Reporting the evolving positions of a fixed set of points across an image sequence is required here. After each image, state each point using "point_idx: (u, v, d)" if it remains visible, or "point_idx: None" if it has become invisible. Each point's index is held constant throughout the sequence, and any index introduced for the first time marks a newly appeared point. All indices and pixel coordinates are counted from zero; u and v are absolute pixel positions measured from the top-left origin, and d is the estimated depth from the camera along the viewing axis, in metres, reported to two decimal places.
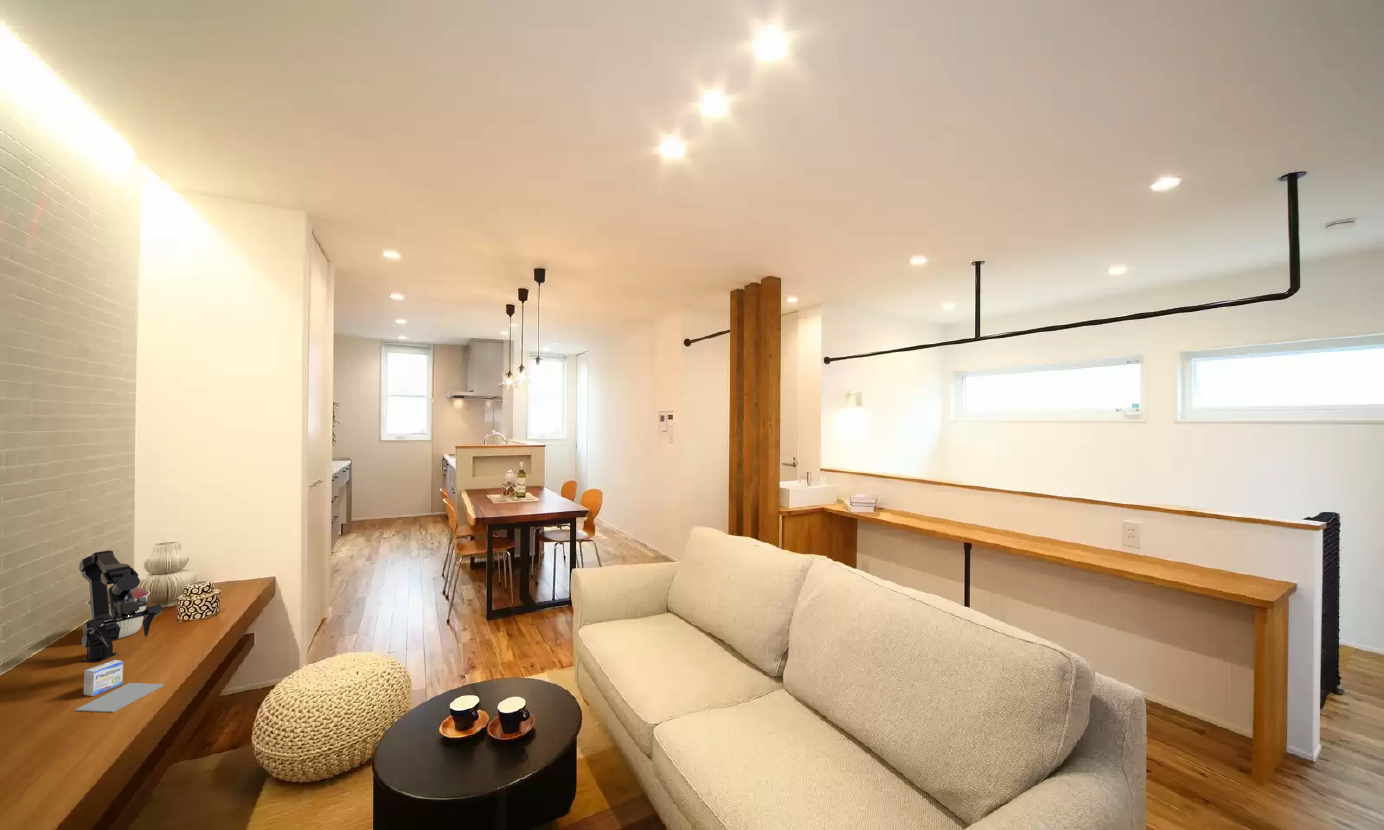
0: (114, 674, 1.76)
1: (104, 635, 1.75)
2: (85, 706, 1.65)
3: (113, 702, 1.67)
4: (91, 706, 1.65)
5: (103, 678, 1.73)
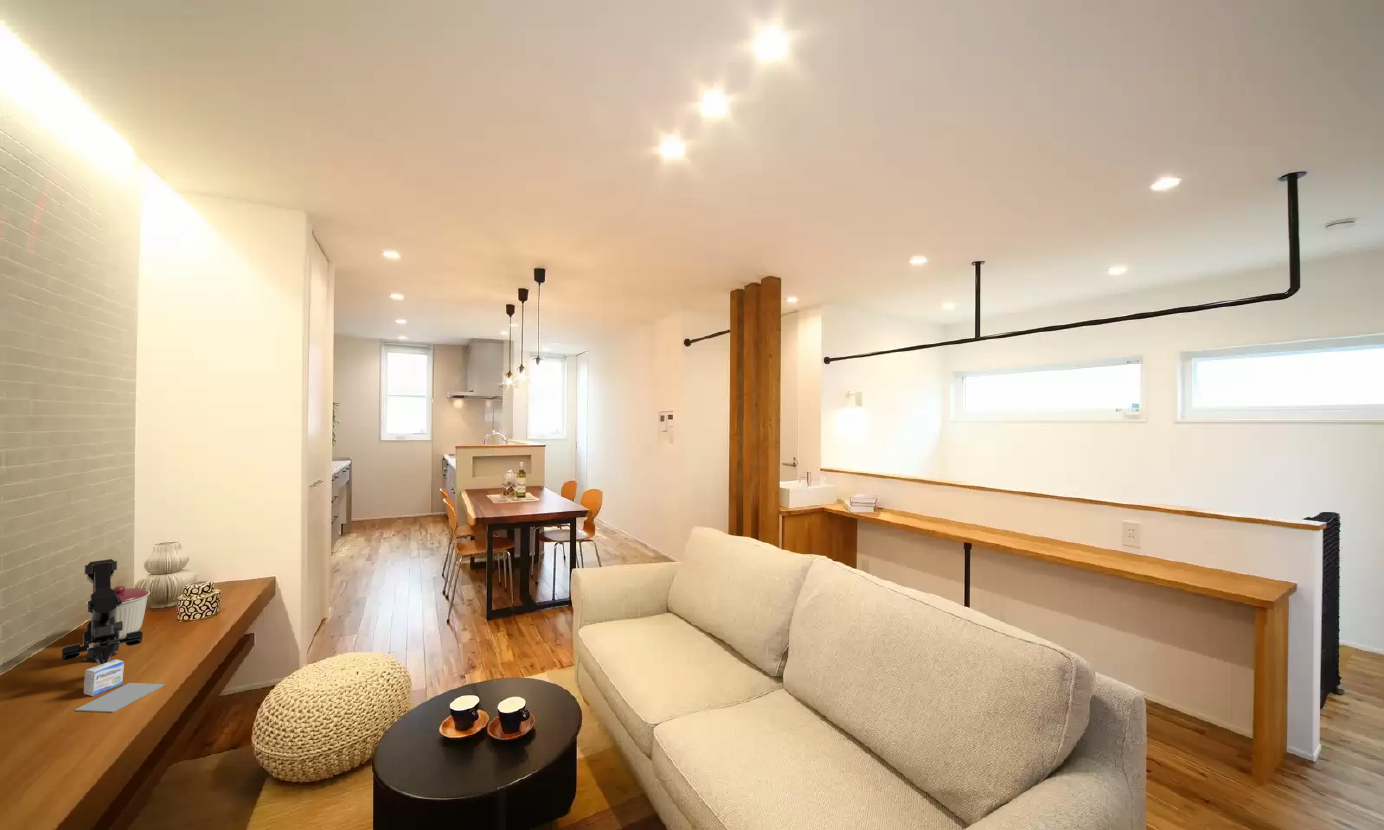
0: (115, 674, 1.76)
1: (99, 656, 1.77)
2: (85, 706, 1.65)
3: (113, 702, 1.67)
4: (91, 706, 1.65)
5: (104, 678, 1.73)
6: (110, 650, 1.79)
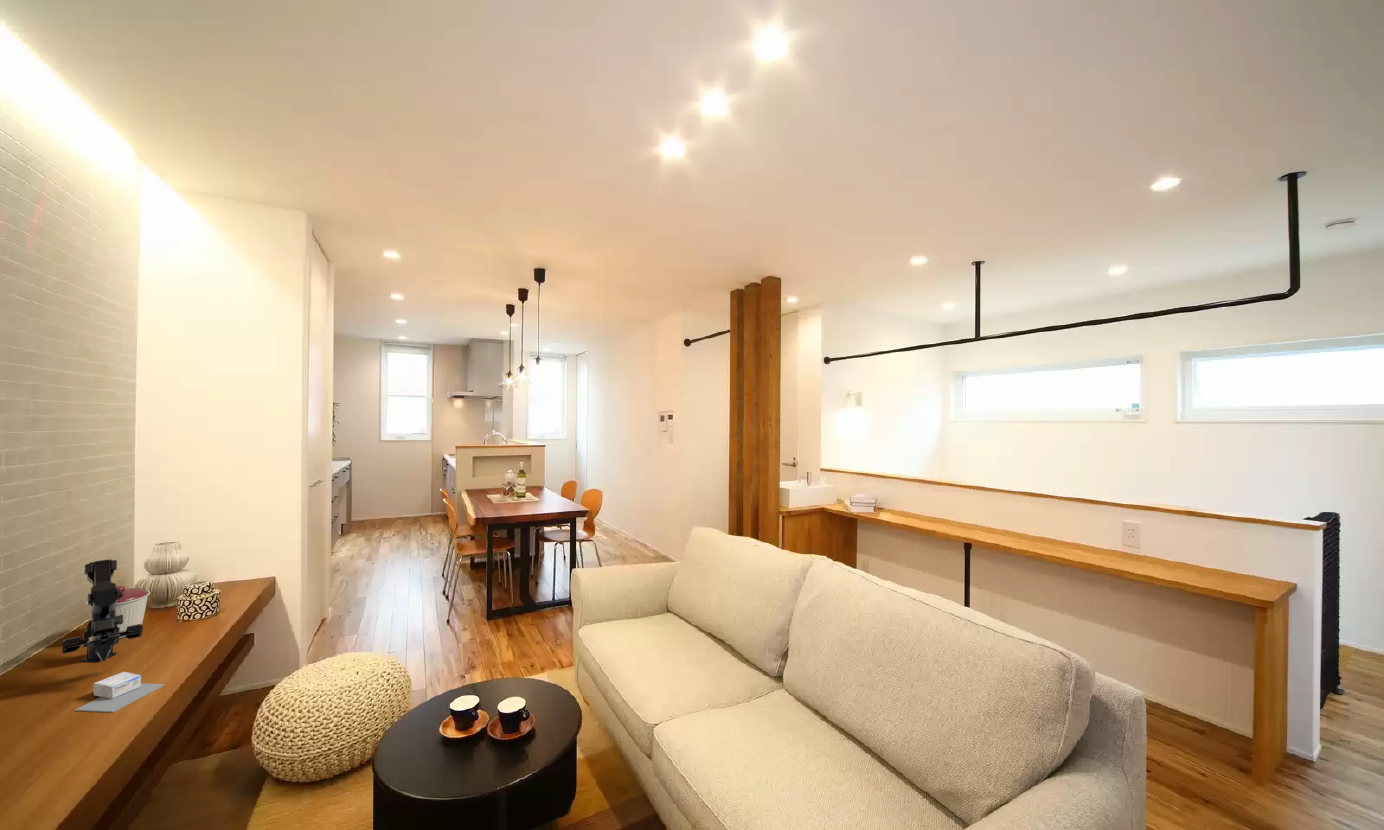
0: None
1: (99, 649, 1.77)
2: (85, 706, 1.65)
3: (113, 702, 1.67)
4: (91, 706, 1.65)
5: None
6: (110, 643, 1.79)
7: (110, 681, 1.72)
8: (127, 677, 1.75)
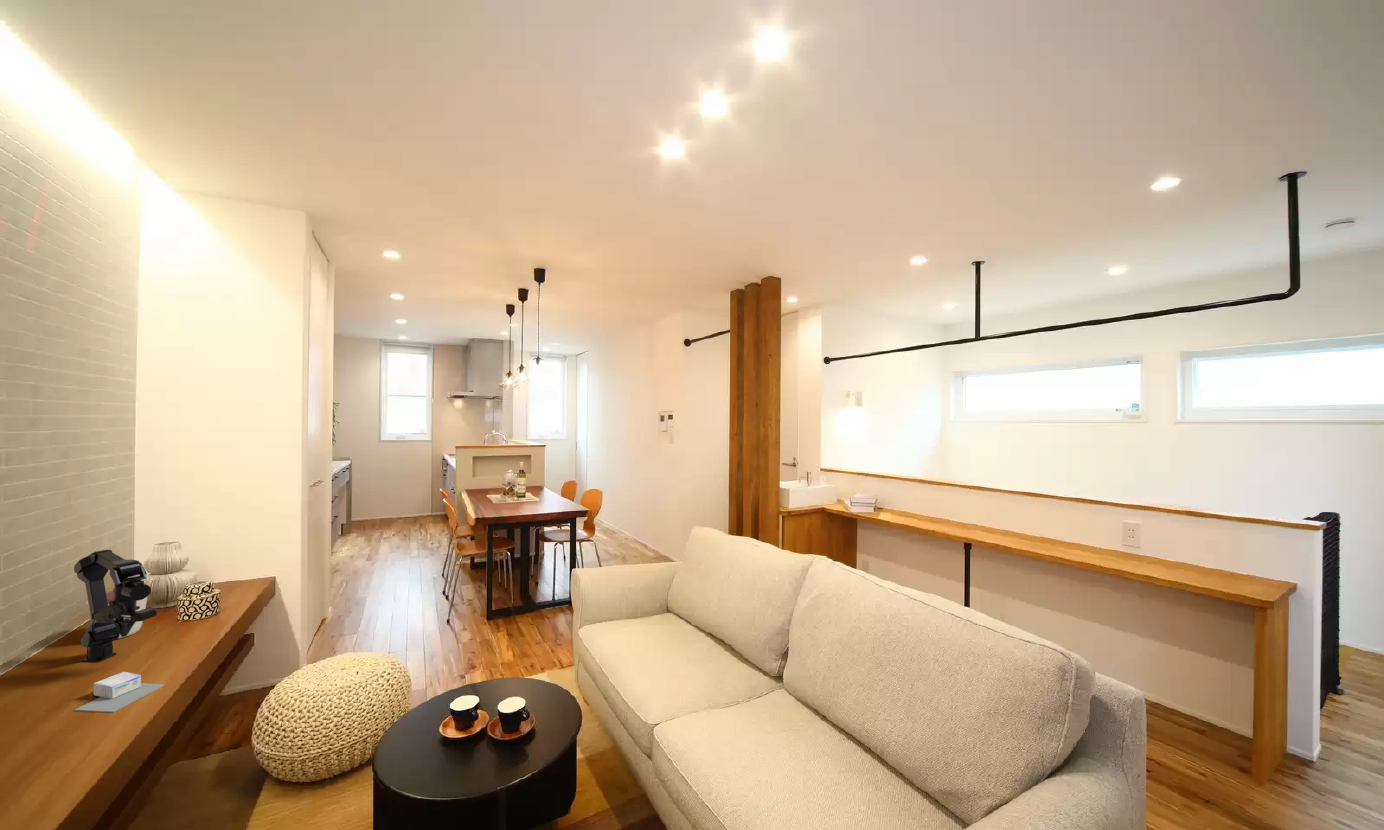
0: None
1: (117, 627, 1.87)
2: (85, 706, 1.65)
3: (113, 702, 1.67)
4: (91, 706, 1.65)
5: None
6: (124, 624, 1.87)
7: (110, 681, 1.72)
8: (127, 677, 1.75)
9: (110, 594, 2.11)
